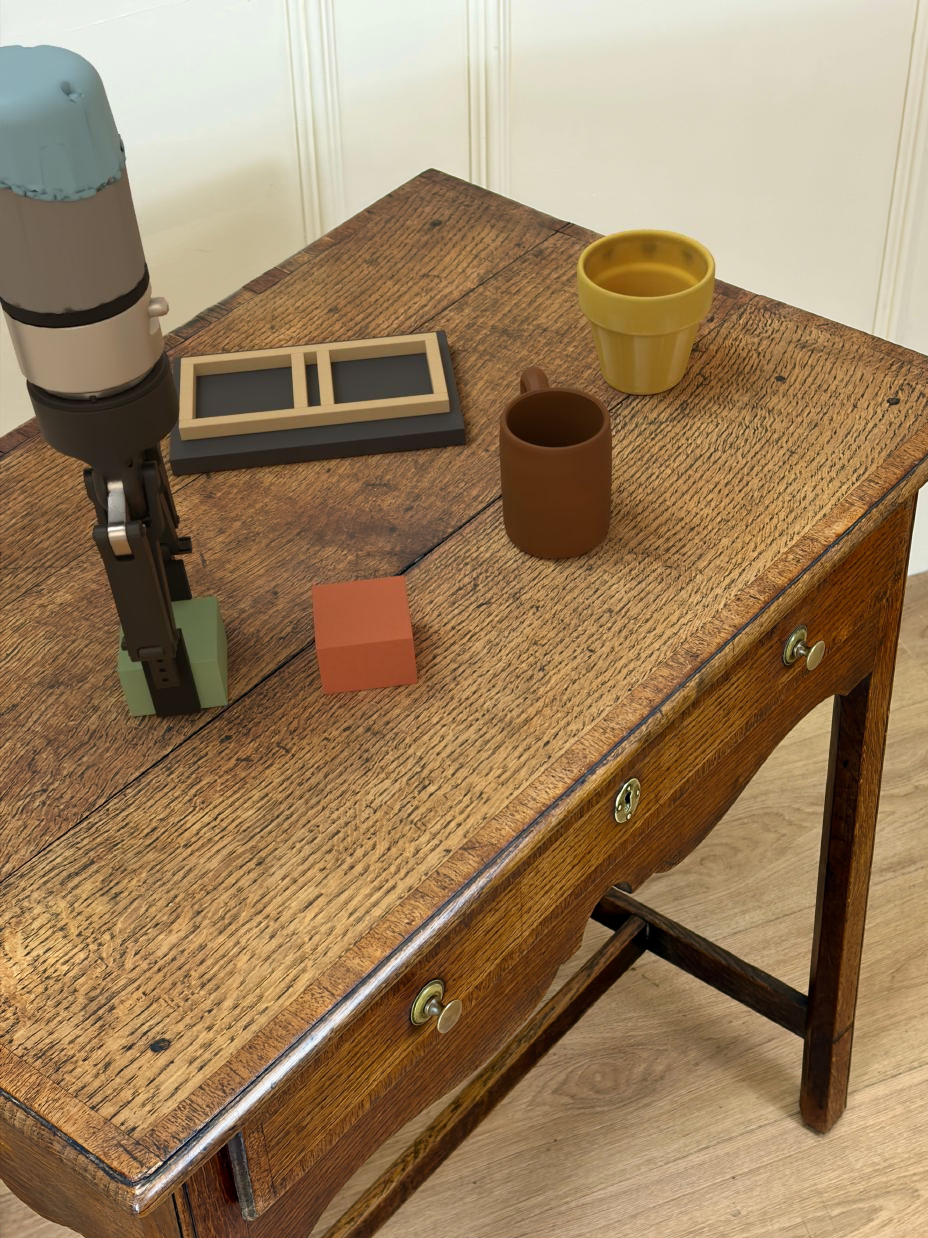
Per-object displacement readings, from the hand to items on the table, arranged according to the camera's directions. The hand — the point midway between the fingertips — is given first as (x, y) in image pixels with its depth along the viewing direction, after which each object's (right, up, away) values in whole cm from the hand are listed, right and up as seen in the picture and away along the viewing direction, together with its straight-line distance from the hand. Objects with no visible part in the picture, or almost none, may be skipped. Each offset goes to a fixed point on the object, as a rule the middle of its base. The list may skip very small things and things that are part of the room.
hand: (179, 674), depth 95 cm
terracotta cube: (+12, +1, +1) cm, 12 cm away
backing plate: (+6, +21, +21) cm, 31 cm away
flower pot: (+31, +24, +24) cm, 46 cm away
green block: (0, 0, 0) cm, 0 cm away
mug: (+24, +12, +12) cm, 29 cm away
